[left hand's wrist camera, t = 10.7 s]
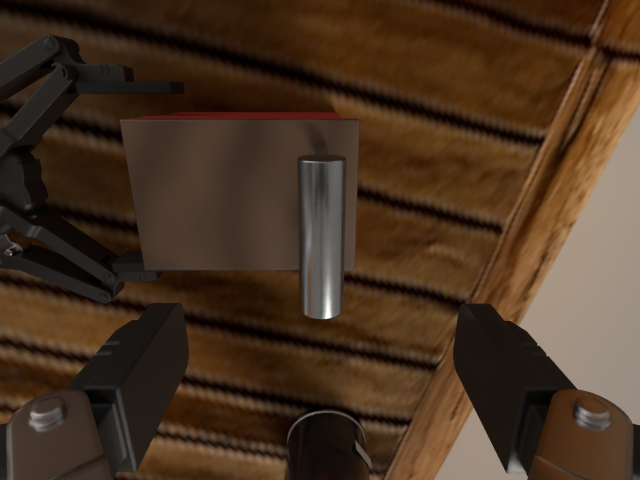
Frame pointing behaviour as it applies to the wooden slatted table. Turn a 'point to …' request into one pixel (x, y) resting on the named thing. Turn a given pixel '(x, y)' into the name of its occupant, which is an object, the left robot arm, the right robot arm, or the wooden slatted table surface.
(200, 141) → the lid
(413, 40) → the wooden slatted table surface
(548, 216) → the wooden slatted table surface
